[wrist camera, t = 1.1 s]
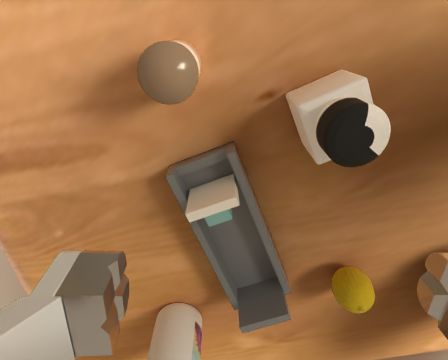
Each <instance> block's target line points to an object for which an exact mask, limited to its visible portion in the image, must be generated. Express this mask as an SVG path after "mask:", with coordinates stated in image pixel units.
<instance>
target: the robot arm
mask: <svg viewBox="0 0 448 360" xmlns="http://www.w3.org/2000/svg"><path fill="white" fill-rule="evenodd" d="M126 265H127V264H126V257H125V253H124V252H123V251H90V250H84V251H82V250H64V251H62V252H60V253H59V254H58V255H57V257H56V258H55V259H54V261H53V262H52V264H51V265H50V267H49V268H48V269H47V271H46V272H45V274H44V275H43V277H42V278H41V279H40V281H39V282H38V284H37V285H36V287H35V288H34V290H33V291H32V292H31V294H30V295H29V297H21V298H19V299H17V300H16V301H14V302H12V303H10V304H9V305H7V306H5V307H4V308H2V309H0V360H74V359H75V357H79V356H103V355H113V352H114V348H115V345H116V342H117V339H118V335H119V332H120V327H119V320H120V319H121V318H122V317H124V316H125V312H126V309H127V304H128V297H129V281H128V278H127V277H126V276H125V274H124V271H125V268H126ZM425 267H426V269H427V272H426V273H425V274H424V275H422V276H421V277H420V278H419V282H418V285H417V294H418V299H419V302H420V304H421V306H422V307H423V309H424V310H425V311H426V313H427V314H429V315H430V316H432V317H434V318H435V319H437V320H438V328H439V329H440V331H441V332H442V333H443V334H444V336H445V337H446V338H447V339H448V253H431V254H430V255H429V256H428V257H427V260H426V262H425Z"/></svg>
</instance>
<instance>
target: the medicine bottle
mask: <svg viewBox="0 0 448 360" xmlns="http://www.w3.org/2000/svg"><path fill="white" fill-rule="evenodd" d="M286 99H287V102H288V104H289V107H290V110H291V113H292V116H293V119H294V122H295V124H296V127H297V130H298V133H299V136H300V139H301V142H302V144H303V145H304V147H305V148H306V149H307V151H308V152H309V154H310V155H311V156H312V158H313V159H314V161H315V162H316V163H317V164H322V163H325V162H328V161H330V160H332V161H333V162H335V163H336V164H338V165H341V166H344V167H358V166H362V165H365V164H367V163H369V162H371V161H372V160H374V159H375V158H377V157H378V156H379V155H380V154H381V153H382V151H383V150H384V149H385V147H386V145H387V143H388V141H389V138H390V133H391V126H390V121H389V118H388V117H387V115H386V113H385V112H384V111H383V110H382V109H381V108H379V107H377V106H375V105H373V101H372V96H371V92H370V88H369V84H368V80H367V78H366V77H363V76H360V75H357V74H354V73H351V72H348V71H345V70H342V69H341V70H338V71H336V72H334V73H331V74H329V75H327V76H324V77H322V78H320V79H318V80H315V81H313V82H311V83H308V84H306V85H304V86H301V87H299V88H297V89H295V90H292V91H290V92H288V93H286Z"/></svg>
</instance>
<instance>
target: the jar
mask: <svg viewBox="0 0 448 360" xmlns="http://www.w3.org/2000/svg"><path fill="white" fill-rule="evenodd" d="M201 70H202V60H201V56H200V54H199V52H198V50H197V49H196V48H195V46H193V45H192V44H191V43H189V42H188V41H185V40H180V39H175V40H171V41H162V42H157V43H155V44H153V45H151V46H149V47H148V48H147V49H146V50H145V51H144V52H143V53H142V55H141V57H140V59H139V62H138V68H137V74H138V79H139V82H140V85H141V87H142V89H143V90H144V91H145V93H146V94H147V95H148V96H149V97H150V98H152V99H153V100H155V101H157V102H159V103H162V104H169V105H170V104H177V103H180V102H182V101H184V100H186V99H187V98H188V97H189V96H190V95H191V94H192V93H193V91H194V90H195V87H196V85H197V82H198V78H199V76H200V73H201Z"/></svg>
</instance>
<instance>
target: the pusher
mask: <svg viewBox="0 0 448 360" xmlns="http://www.w3.org/2000/svg"><path fill="white" fill-rule="evenodd" d="M237 206H239V195H238V186H237V180H236V178H235V175H234V174H231V175H228V176H226V177H223V178H220V179H217V180H214V181H212V182H209V183H206V184H203V185H201V186H198V187H195V188H192V189H190V192H189V197H188V202H187V208H186V213H185V215H186V217H187V219H188V221H189V223H190V222H193V221H196V220H199V219H201V218H205V220H206V222H207V224H208V226H209V227H210V226H213V225H216V224H219V223H222V222H225V221H228V220H231V219H232V210H231V208H234V207H237Z"/></svg>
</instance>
